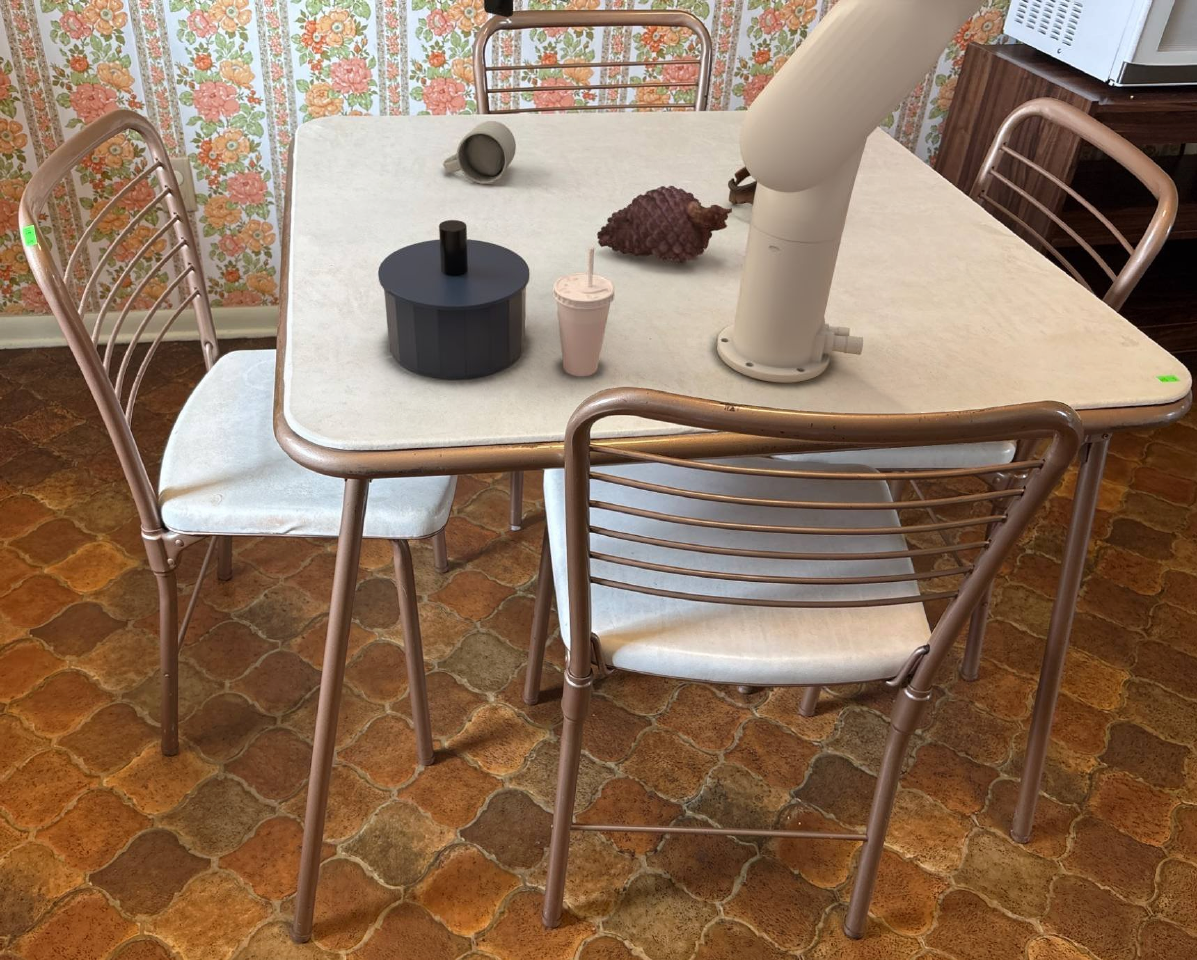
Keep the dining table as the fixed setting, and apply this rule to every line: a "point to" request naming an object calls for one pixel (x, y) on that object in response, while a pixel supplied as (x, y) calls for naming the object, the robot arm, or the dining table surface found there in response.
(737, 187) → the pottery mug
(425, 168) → the dining table surface
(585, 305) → the smoothie
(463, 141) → the ceramic mug
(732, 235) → the dining table surface
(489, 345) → the pot
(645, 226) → the pine cone
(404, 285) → the pot lid
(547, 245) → the dining table surface
